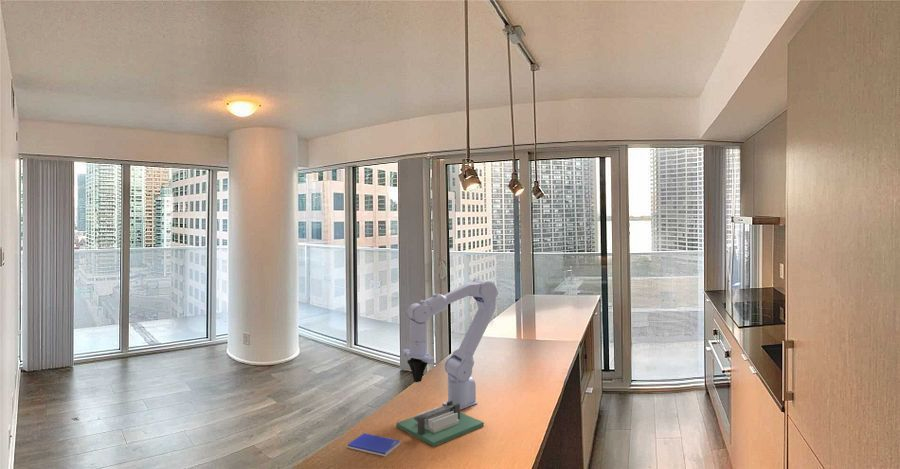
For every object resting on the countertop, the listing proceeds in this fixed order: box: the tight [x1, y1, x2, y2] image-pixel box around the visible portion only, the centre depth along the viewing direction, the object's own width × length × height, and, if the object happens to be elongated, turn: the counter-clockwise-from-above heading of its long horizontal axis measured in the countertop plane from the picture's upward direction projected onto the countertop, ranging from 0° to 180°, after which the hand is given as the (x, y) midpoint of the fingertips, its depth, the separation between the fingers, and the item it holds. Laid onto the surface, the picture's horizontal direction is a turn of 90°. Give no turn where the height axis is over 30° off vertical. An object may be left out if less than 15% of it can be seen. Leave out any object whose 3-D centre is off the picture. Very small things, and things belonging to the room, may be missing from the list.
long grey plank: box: [413, 404, 454, 421], centre depth 146 cm, size 15×2×1 cm, turn 132°
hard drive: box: [347, 433, 402, 457], centre depth 135 cm, size 2×8×12 cm
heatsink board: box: [395, 401, 485, 447], centre depth 147 cm, size 20×18×6 cm
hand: (417, 381), depth 157 cm, fingers closed
